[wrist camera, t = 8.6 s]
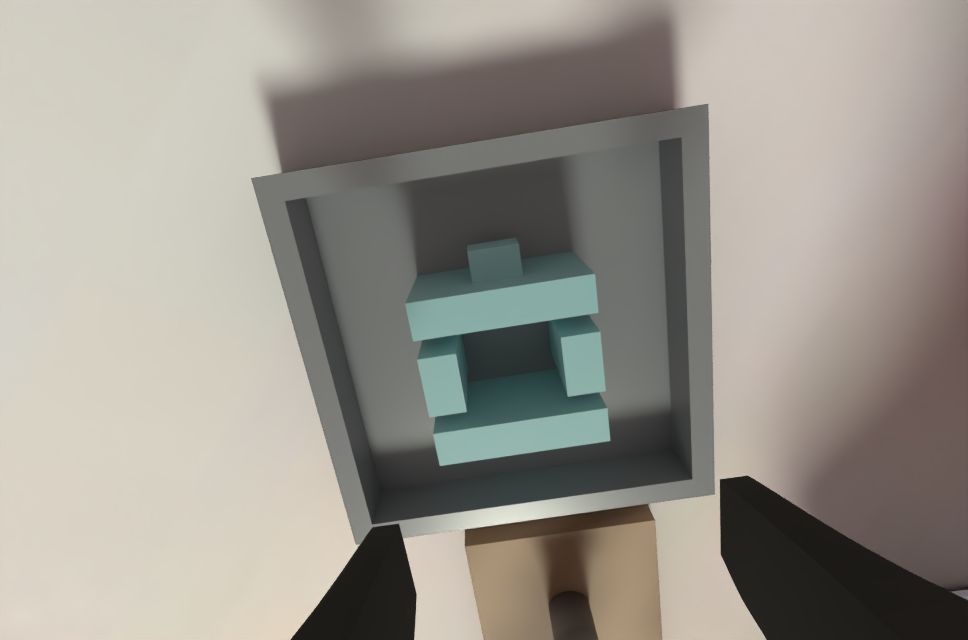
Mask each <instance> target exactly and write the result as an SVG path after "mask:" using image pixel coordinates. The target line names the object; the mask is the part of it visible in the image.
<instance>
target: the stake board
mask: <svg viewBox="0 0 968 640" xmlns="http://www.w3.org/2000/svg"><path fill="white" fill-rule="evenodd" d="M465 550H466V555H467V560H468V564H469V569H470V574H471V579H472V584H473V589H474V594H475V599H476V604H477V608H478V613H479V618H480V623H481V628H482V633H483V638H484V640H662V627H661V611H660V594H659V578H658V561H657V545H656V528H655V519H654V517H653V515H652V513H651V511H650V509H649V507H648V505H641V506H634V507H626V508H619V509H612V510H605V511H598V512H591V513H584V514H576V515H569V516H562V517H555V518H548V519H541V520H534V521H527V522H519V523H512V524H505V525H498V526H491V527H484V528H477V529H470V530H465Z"/></svg>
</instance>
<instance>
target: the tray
mask: <svg viewBox="0 0 968 640" xmlns="http://www.w3.org/2000/svg"><path fill="white" fill-rule="evenodd" d="M251 179H252V183H253V186H254V190H255V193H256V197H257V200H258V204H259V207H260V211H261V214H262V218H263V221H264V225H265V228H266V232H267V235H268V239H269V242H270V246H271V249H272V253H273V256H274V260H275V263H276V267H277V270H278V274H279V277H280V281H281V284H282V288H283V291H284V295H285V298H286V302H287V305H288V309H289V312H290V316H291V319H292V323H293V326H294V330H295V333H296V337H297V340H298V344H299V347H300V351H301V354H302V358H303V361H304V365H305V368H306V372H307V375H308V379H309V382H310V386H311V389H312V393H313V396H314V400H315V403H316V407H317V410H318V414H319V417H320V421H321V424H322V428H323V431H324V435H325V438H326V442H327V445H328V449H329V452H330V456H331V459H332V463H333V466H334V470H335V473H336V477H337V480H338V484H339V487H340V491H341V494H342V498H343V501H344V505H345V508H346V512H347V515H348V519H349V522H350V526H351V529H352V533H353V536H354V540H355V543H356V545H357V544H361V543H362V541H363V540H364V538H365V537H366V535H367V534H368V532H369V531H370V530H371V529H372V527H377V526H384V525H392V524H399V525H400V529H401V533H402V537H403V538H407V537H414V536H421V535H429V534H436V533H443V532H450V531H457V530H464V529H471V528H478V527H486V526H493V525H500V524H507V523H514V522H521V521H528V520H536V519H543V518H550V517H557V516H564V515H571V514H578V513H585V512H593V511H600V510H607V509H614V508H621V507H628V506H635V505H642V504H650V503H657V502H664V501H671V500H678V499H685V498H692V497H699V496H707V495H714V494H715V484H714V423H713V362H712V301H711V240H710V179H709V118H708V104H704V105H698V106H692V107H686V108H679V109H673V110H667V111H661V112H655V113H649V114H643V115H636V116H630V117H624V118H618V119H612V120H606V121H600V122H594V123H587V124H581V125H575V126H569V127H563V128H557V129H551V130H544V131H538V132H532V133H526V134H520V135H514V136H508V137H501V138H495V139H489V140H483V141H477V142H471V143H465V144H458V145H452V146H446V147H440V148H434V149H428V150H422V151H415V152H409V153H403V154H397V155H391V156H385V157H379V158H373V159H366V160H360V161H354V162H348V163H342V164H336V165H330V166H323V167H317V168H311V169H305V170H299V171H293V172H287V173H280V174H274V175H268V176H262V177H256V178H251ZM509 238H516V239H517V241H518V243H519V249H520V257H521V259H527V258H533V257H539V256H546V255H552V254H558V253H565V252H571V251H573V252H574V253H575V254H576V255H577V256H578V257H579V258H580V259H581V260H582V261H583V262H584V263H585V264H586V265H587V266H588V267H589V268H590V269H591V270H592V271H593V272H594V273H595V279H596V290H597V301H598V312H599V313H594V314H589V316H590V317H591V319H592V320H593V322H594V323H595V325H596V326H597V327H598V329H599V330H600V333H601V344H602V355H603V366H604V377H605V388H606V391H603V392H599V393H600V395H601V397H602V399H603V401H604V402H605V404H606V406H607V409H608V420H609V431H610V441H607V442H600V443H593V444H586V445H579V446H573V447H566V448H559V449H552V450H545V451H539V452H532V453H525V454H518V455H511V456H505V457H498V458H491V459H484V460H477V461H471V462H464V463H457V464H450V465H443V466H440V465H439V460H438V455H437V451H436V446H435V441H434V437H433V430H434V423H435V417H430V418H429V413H428V409H427V404H426V399H425V395H424V390H423V385H422V381H421V376H420V371H419V367H418V362H417V358H418V354H419V351H420V347H421V343H422V340H420V341H413V339H412V334H411V329H410V325H409V320H408V315H407V311H406V306H405V303H406V300H407V298H408V296H409V293H410V291H411V289H412V287H413V284H414V282H415V280H416V278H417V276H420V275H426V274H432V273H439V272H445V271H451V270H458V269H464V268H470V266H469V260H468V254H467V246H468V245H472V244H478V243H484V242H491V241H497V240H503V239H509ZM462 337H463V343H464V348H465V354H466V359H467V365H468V382H473V381H479V380H486V379H492V378H499V377H505V376H512V375H519V374H525V373H532V372H538V371H545V370H552V369H557V367H556V365H555V362H554V359H553V357H552V353H551V345H550V337H549V329H548V321H542V322H536V323H530V324H523V325H517V326H510V327H504V328H497V329H491V330H484V331H478V332H471V333H465V334H462Z"/></svg>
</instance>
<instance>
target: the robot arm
mask: <svg viewBox="0 0 968 640" xmlns="http://www.w3.org/2000/svg"><path fill="white" fill-rule="evenodd" d="M720 525H721V556H722V558H723V560H724V562H725V564H726V566H727V569H728V571H729V573H730V575H731V577H732V580H733V582H734V584H735V586H736V588H737V590H738V592H739V594H740V596H741V598H742V600H743V602H744V603H745V605H746V607H747V608H748V610H749V612H750V613H751V615H752V616H753V618H754V620H755V621H756V623H757V625H758V626H759V628H760V629H761V631H762V633H763V634H764V636H765V637H766V639H767V640H968V589H967V590H960V591H952V592H950V591H948V590H946V589H944V588H942V587H940V586H937V585H935V584H933V583H931V582H929V581H927V580H925V579H923V578H921V577H919V576H917V575H915V574H913V573H911V572H909V571H907V570H905V569H903V568H902V567H900V566H898V565H896V564H894V563H892V562H891V561H889V560H887V559H885V558H883V557H881V556H880V555H878V554H876V553H874V552H872V551H870V550H869V549H867V548H865V547H863V546H862V545H860V544H858V543H856V542H855V541H853V540H851V539H849V538H848V537H846V536H844V535H843V534H841V533H839V532H838V531H836V530H834V529H833V528H831V527H829V526H828V525H826V524H824V523H823V522H821V521H820V520H818V519H816V518H815V517H813V516H811V515H810V514H808V513H807V512H805V511H803V510H802V509H800V508H799V507H797V506H796V505H794V504H792V503H791V502H789V501H788V500H786V499H785V498H783V497H781V496H780V495H778V494H777V493H775V492H774V491H772V490H770V489H769V488H767V487H766V486H764V485H762V484H761V483H759V482H758V481H756V480H754V479H753V478H751V477H749V476H742V477H735V478H727V479H720ZM415 615H416V590H415V586H414V582H413V578H412V574H411V570H410V566H409V562H408V558H407V554H406V550H405V545H404V541H403V537H402V533H401V529H400V525H399V524H392V525H384V526H377V527H372V529H371V530H370V531H369V532H368V534H367V535H366V537H365V538H364V540H363V541H362V543H361V544H360V546H359V547H358V549H357V550H356V552H355V553H354V554H353V556H352V557H351V559H350V560H349V562H348V563H347V565H346V566H345V568H344V569H343V571H342V572H341V573H340V575H339V576H338V578H337V579H336V581H335V582H334V583H333V585H332V586H331V587H330V589H329V590H328V592H327V593H326V594H325V596H324V597H323V599H322V600H321V601H320V603H319V604H318V605H317V607H316V608H315V609H314V611H313V612H312V613H311V615H310V616H309V617H308V618H307V620H306V621H305V622H304V623H303V625H302V626H301V627H300V628H299V630H298V631H297V632H296V633H295V635H294V636H293V637H292V638H291V640H414V632H415Z"/></svg>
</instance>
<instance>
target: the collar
mask: <svg viewBox="0 0 968 640" xmlns="http://www.w3.org/2000/svg"><path fill="white" fill-rule="evenodd" d="M467 254H468V260H469V266H470V268H464V269H458V270H451V271H445V272H439V273H432V274H426V275H420V276H417V278H416V280H415V282H414V284H413V287H412V289H411V291H410V293H409V296H408V298H407V300H406V303H405V306H406V311H407V315H408V320H409V325H410V329H411V334H412V339H413V341H420V340H422V343H421V347H420V351H419V354H418V358H417V362H418V367H419V371H420V376H421V381H422V385H423V390H424V395H425V399H426V404H427V409H428V413H429V418H430V417H435V423H434V430H433V437H434V441H435V446H436V451H437V455H438V460H439V465H440V466H443V465H450V464H457V463H464V462H471V461H477V460H484V459H491V458H498V457H505V456H511V455H518V454H525V453H532V452H539V451H545V450H552V449H559V448H566V447H573V446H579V445H586V444H593V443H600V442H607V441H610V431H609V420H608V409H607V406H606V404H605V402H604V401H603V399H602V397H601V395H600V393H599V392H603V391H606V388H605V377H604V366H603V355H602V344H601V333H600V330H599V329H598V327H597V326H596V325H595V323H594V322H593V320H592V319H591V317H590V316H589V314H594V313H599V312H598V301H597V290H596V279H595V273H594V272H593V271H592V270H591V269H590V268H589V267H588V266H587V265H586V264H585V263H584V262H583V261H582V260H581V259H580V258H579V257H578V256H577V255H576V254H575V253H574V252H573V251H571V252H565V253H558V254H552V255H546V256H539V257H533V258H527V259H521V257H520V249H519V243H518V241H517V239H516V238H509V239H503V240H497V241H491V242H484V243H478V244H472V245H468V246H467ZM542 321H548V329H549V337H550V345H551V353H552V357H553V359H554V362H555V365H556V367H557V369H552V370H545V371H538V372H532V373H525V374H519V375H512V376H505V377H499V378H492V379H486V380H479V381H473V382H468V365H467V359H466V354H465V348H464V343H463V337H462V334H465V333H471V332H478V331H484V330H491V329H497V328H504V327H510V326H517V325H523V324H530V323H536V322H542Z"/></svg>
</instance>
